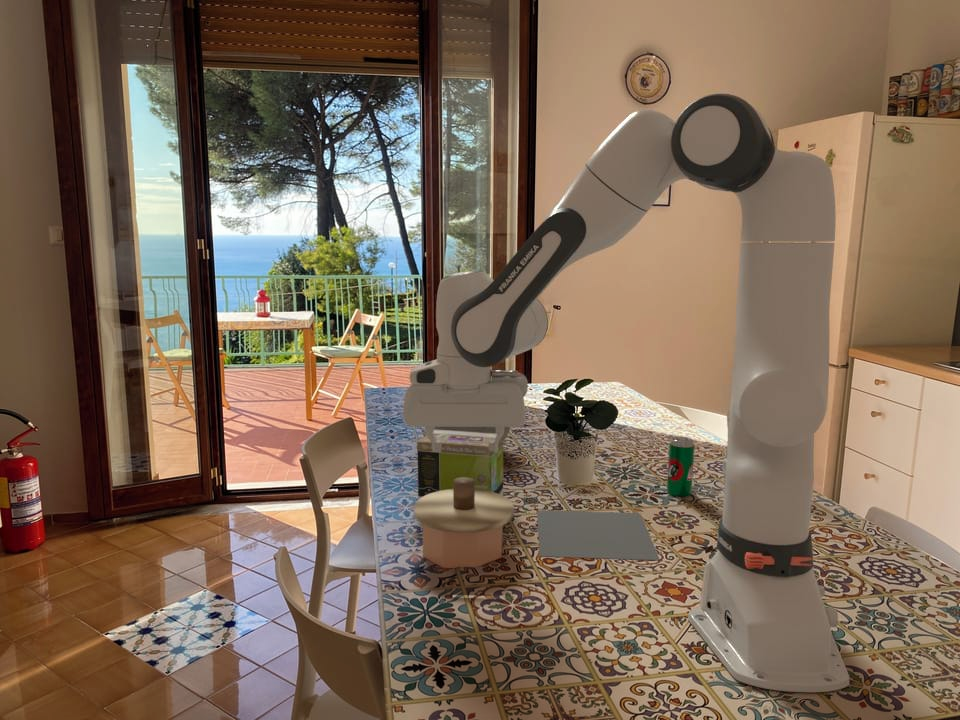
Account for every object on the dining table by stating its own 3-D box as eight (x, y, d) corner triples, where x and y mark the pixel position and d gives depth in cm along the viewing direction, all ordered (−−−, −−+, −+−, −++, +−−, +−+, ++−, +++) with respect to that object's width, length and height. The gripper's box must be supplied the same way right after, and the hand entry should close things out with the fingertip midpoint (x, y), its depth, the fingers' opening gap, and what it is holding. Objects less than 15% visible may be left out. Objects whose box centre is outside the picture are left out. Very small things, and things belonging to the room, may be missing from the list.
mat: (659, 562, 118) (660, 560, 117) (539, 558, 119) (539, 556, 119) (640, 515, 137) (640, 513, 137) (537, 512, 138) (537, 510, 138)
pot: (500, 569, 114) (501, 529, 113) (419, 567, 115) (419, 526, 114) (502, 535, 127) (503, 498, 126) (430, 533, 128) (429, 496, 127)
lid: (513, 534, 111) (514, 501, 110) (406, 531, 112) (406, 498, 111) (514, 494, 128) (514, 465, 127) (421, 492, 129) (420, 463, 128)
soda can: (692, 499, 145) (696, 443, 143) (667, 497, 146) (670, 442, 144) (690, 491, 150) (693, 436, 148) (665, 489, 151) (668, 435, 149)
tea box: (503, 503, 143) (504, 432, 140) (491, 522, 133) (492, 447, 131) (433, 495, 147) (433, 426, 144) (416, 513, 137) (415, 440, 135)
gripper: (527, 366, 118) (527, 446, 121) (406, 366, 119) (408, 445, 122) (527, 373, 112) (527, 457, 114) (400, 373, 113) (402, 456, 116)
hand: (465, 451), depth 118 cm, fingers open, 8 cm apart
